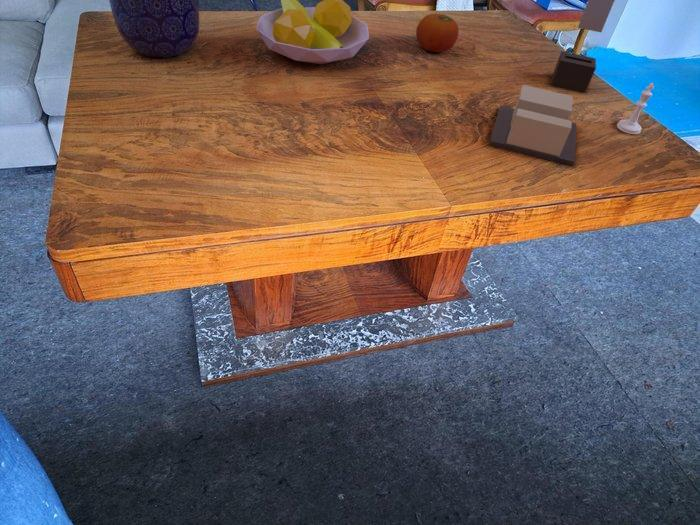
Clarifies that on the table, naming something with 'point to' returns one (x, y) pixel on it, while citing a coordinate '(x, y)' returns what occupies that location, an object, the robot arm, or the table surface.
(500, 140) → the cake board
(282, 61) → the table surface
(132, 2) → the planter
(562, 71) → the knife block
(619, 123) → the chess piece
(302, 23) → the fruit bowl
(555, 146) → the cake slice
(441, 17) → the fruit
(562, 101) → the cake
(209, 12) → the table surface
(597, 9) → the knife
